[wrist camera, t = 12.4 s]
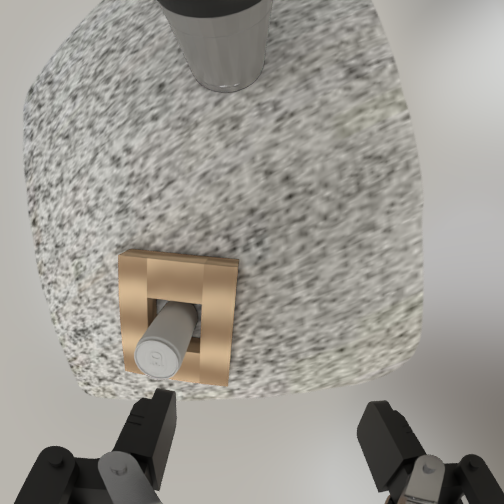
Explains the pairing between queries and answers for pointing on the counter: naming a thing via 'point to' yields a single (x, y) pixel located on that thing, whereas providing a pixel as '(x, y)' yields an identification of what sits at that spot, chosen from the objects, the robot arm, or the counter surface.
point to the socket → (182, 290)
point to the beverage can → (166, 340)
